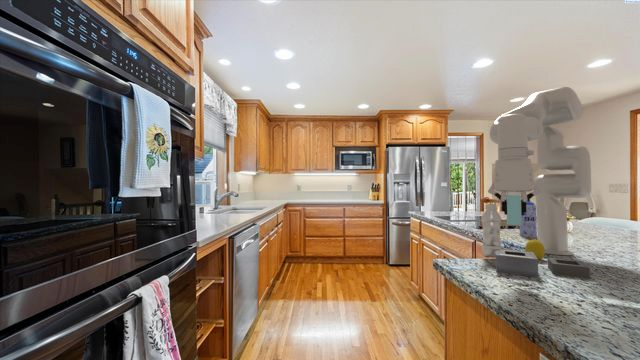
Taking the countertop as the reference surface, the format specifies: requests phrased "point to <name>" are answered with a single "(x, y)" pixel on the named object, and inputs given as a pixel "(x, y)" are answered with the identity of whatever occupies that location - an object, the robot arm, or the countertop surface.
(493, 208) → the plastic bottle
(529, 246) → the lemon
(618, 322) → the countertop surface
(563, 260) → the grey square socket
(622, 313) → the countertop surface
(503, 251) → the port block
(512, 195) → the plug
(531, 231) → the aerosol can
